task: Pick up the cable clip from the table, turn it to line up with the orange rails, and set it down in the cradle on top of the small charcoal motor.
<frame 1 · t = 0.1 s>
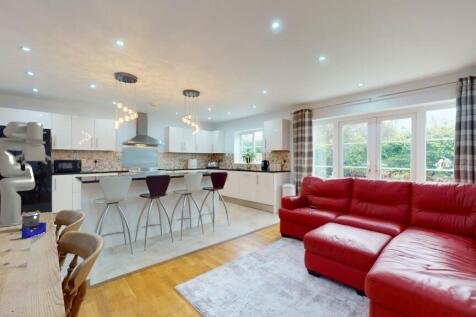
hand: (33, 170, 135), 37 cm above the table, tool pointing down, fingers open, 9 cm apart
cable clip: (32, 235, 129), on the table
motor: (30, 228, 141), on the table
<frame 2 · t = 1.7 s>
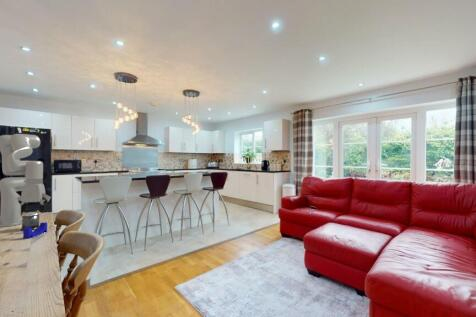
hand: (33, 211, 129), 14 cm above the table, tool pointing down, fingers open, 9 cm apart
nothing on the table moved.
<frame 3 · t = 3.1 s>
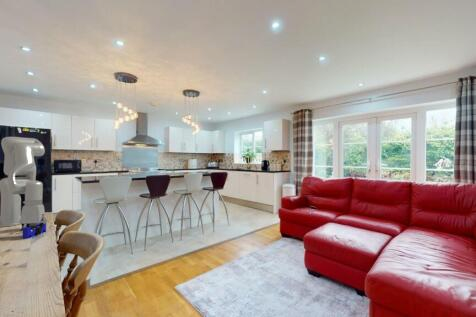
hand: (33, 234, 129), 1 cm above the table, tool pointing down, fingers open, 5 cm apart
nothing on the table moved.
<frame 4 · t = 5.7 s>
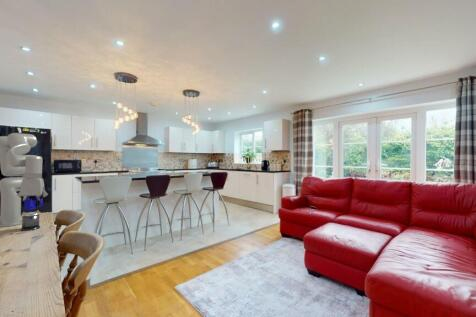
hand: (32, 206, 133), 16 cm above the table, tool pointing down, fingers closed on cable clip, 4 cm apart
cable clip: (32, 208, 133), point 15 cm above the table, touching gripper
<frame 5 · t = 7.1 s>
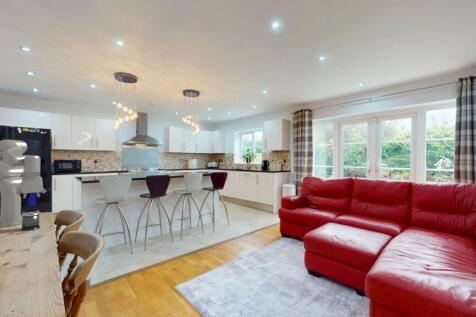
hand: (31, 203, 141), 16 cm above the table, tool pointing down, fingers closed on cable clip, 4 cm apart
cable clip: (31, 204, 141), point 15 cm above the table, touching gripper
when the fingers open (11 cm above the table, at t = 8.2 s): cable clip stays where it is, resting on motor.
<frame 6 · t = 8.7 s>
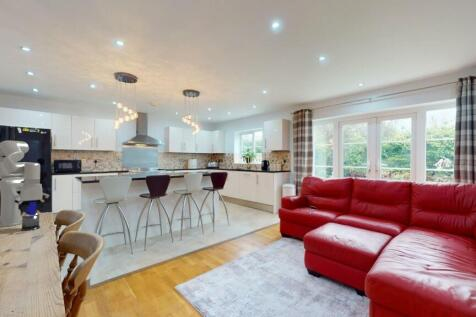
hand: (31, 209, 141), 12 cm above the table, tool pointing down, fingers open, 9 cm apart
cable clip: (30, 213, 141), point 10 cm above the table, touching motor
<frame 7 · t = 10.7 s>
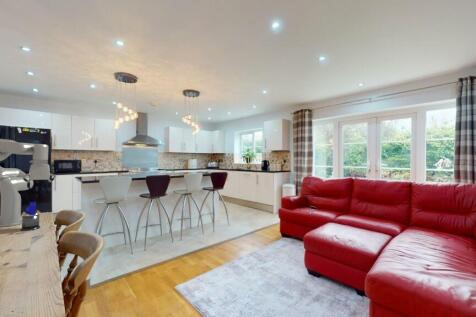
hand: (39, 188, 148), 25 cm above the table, tool pointing down, fingers open, 9 cm apart
nothing on the table moved.
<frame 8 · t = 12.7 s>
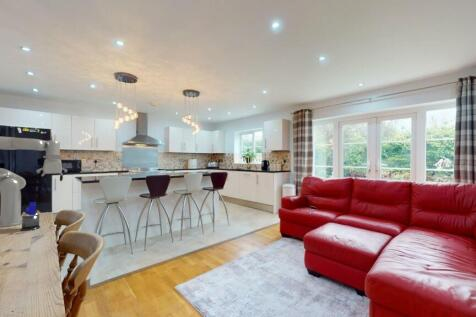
hand: (52, 181, 160), 28 cm above the table, tool pointing down, fingers open, 9 cm apart
nothing on the table moved.
at the end: cable clip 0.3 cm off-centre on the motor, point 9.6 cm above the motor's base; cable clip tilted 0°; the gripper is holding nothing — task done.
